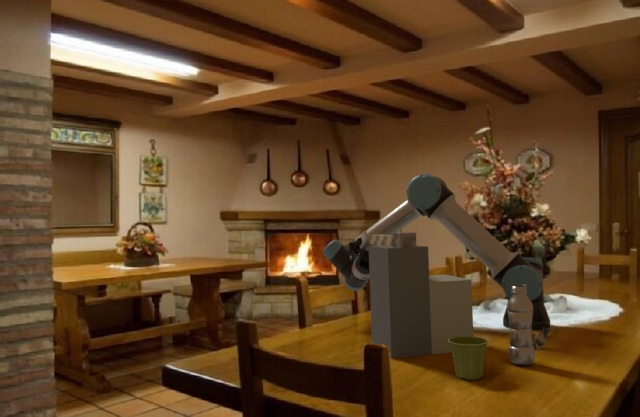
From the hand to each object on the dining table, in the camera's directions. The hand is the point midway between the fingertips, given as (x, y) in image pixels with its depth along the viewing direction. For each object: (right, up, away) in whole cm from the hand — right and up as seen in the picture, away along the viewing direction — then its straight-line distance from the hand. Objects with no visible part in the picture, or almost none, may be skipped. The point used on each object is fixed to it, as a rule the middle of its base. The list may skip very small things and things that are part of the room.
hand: (383, 233), depth 169 cm
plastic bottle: (+32, -32, -30) cm, 54 cm away
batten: (+1, -3, -5) cm, 6 cm away
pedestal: (+10, -33, -9) cm, 36 cm away
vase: (+44, -32, -14) cm, 56 cm away
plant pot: (+16, -32, -39) cm, 53 cm away
